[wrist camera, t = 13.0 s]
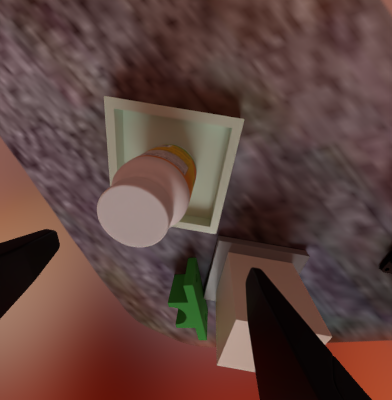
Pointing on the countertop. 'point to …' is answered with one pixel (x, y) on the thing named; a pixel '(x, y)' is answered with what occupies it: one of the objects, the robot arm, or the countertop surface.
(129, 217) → the supplement bottle
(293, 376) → the robot arm
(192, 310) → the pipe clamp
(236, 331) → the plain beige box
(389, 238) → the countertop surface
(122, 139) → the tray
